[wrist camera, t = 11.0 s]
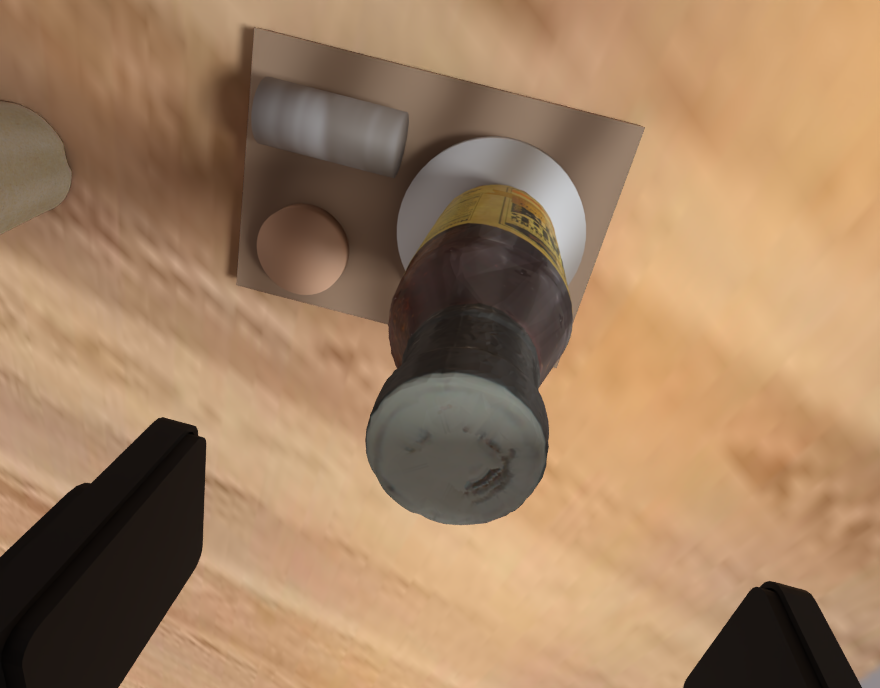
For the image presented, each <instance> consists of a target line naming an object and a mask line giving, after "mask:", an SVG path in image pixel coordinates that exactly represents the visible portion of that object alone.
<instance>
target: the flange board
mask: <svg viewBox="0 0 880 688" xmlns="http://www.w3.org/2000/svg"><path fill="white" fill-rule="evenodd" d="M644 129H645V127H643V126H640V125H636V124H632V123H628V122H625V121H621V120H617V119H613V118H609V117H605V116H601V115H597V114H593V113H589V112H585V111H582V110H578V109H574V108H570V107H566V106H562V105H558V104H554V103H550V102H546V101H543V100H539V99H535V98H531V97H527V96H523V95H519V94H515V93H511V92H507V91H504V90H500V89H496V88H492V87H488V86H484V85H480V84H476V83H472V82H468V81H465V80H461V79H457V78H453V77H449V76H445V75H441V74H437V73H433V72H429V71H426V70H422V69H418V68H414V67H410V66H406V65H402V64H398V63H394V62H390V61H386V60H383V59H379V58H375V57H371V56H367V55H363V54H359V53H355V52H351V51H347V50H344V49H340V48H336V47H332V46H328V45H324V44H320V43H316V42H312V41H308V40H305V39H301V38H297V37H293V36H289V35H285V34H281V33H277V32H273V31H269V30H266V29H261V28H255V27H254V39H253V53H252V68H251V82H250V96H249V111H248V125H247V139H246V154H245V168H244V182H243V197H242V211H241V226H240V240H239V254H238V269H237V283H236V285H238V286H242V287H246V288H250V289H253V290H257V291H261V292H265V293H269V294H273V295H277V296H280V297H284V298H288V299H292V300H296V301H300V302H303V303H307V304H311V305H315V306H319V307H323V308H327V309H330V310H334V311H338V312H342V313H346V314H350V315H354V316H357V317H361V318H365V319H369V320H373V321H377V322H381V323H384V324H388V322H389V311H390V308H391V303H392V298H393V296H394V294H395V292H396V289H397V287H398V285H399V283H400V281H401V279H402V277H403V276H404V274H405V271H406V269H407V267H408V265H409V263H410V261H411V259H412V258H413V256H414V255H415V253H416V252H417V250H418V249H419V247H420V245H421V244H422V242H423V241H424V239H425V238H426V236H427V235H428V233H429V232H430V230H431V229H432V227H433V226H434V224H435V223H436V221H437V220H438V218H439V217H440V215H441V214H442V213H443V211H444V210H445V209H446V207H447V206H448V205H449V204H450V203H451V201H452V200H453V199H454V198H456V197H457V196H459V195H461V194H462V193H464V192H466V191H468V190H470V189H473V188H475V187H478V186H482V185H506V186H511V187H514V188H516V189H519V190H523V191H525V192H527V193H528V194H529V195H530V196H531V197H533V198H534V199H535V200H537V201H538V202H539V203H540V204H541V205H542V206H543V208H544V209H545V211H546V212H547V214H548V215H549V217H550V219H551V221H552V224H553V227H554V230H555V235H556V239H557V243H558V247H559V250H560V255H561V259H562V261H563V267H564V271H565V276H566V281H567V284H568V289H569V293H570V298H571V302H572V309H573V322H574V319H575V316H576V313H577V311H578V308H579V305H580V303H581V300H582V297H583V294H584V292H585V289H586V286H587V284H588V281H589V278H590V275H591V273H592V270H593V267H594V265H595V262H596V259H597V256H598V254H599V251H600V248H601V246H602V243H603V240H604V237H605V235H606V232H607V229H608V227H609V224H610V221H611V218H612V216H613V213H614V210H615V208H616V205H617V202H618V199H619V197H620V194H621V191H622V189H623V186H624V183H625V180H626V178H627V175H628V172H629V170H630V167H631V164H632V161H633V159H634V156H635V153H636V151H637V148H638V145H639V142H640V140H641V137H642V134H643V132H644ZM560 357H561V356H560ZM559 360H560V358H559V359H558V361H557V362H556V363H555V365H554V366H553V367H554V368H557V365H558V362H559Z"/></svg>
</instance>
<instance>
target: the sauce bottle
mask: <svg viewBox="0 0 880 688" xmlns="http://www.w3.org/2000/svg"><path fill="white" fill-rule="evenodd" d="M572 324H573V309H572V302H571V298H570V293H569V289H568V284H567V281H566V276H565V271H564V267H563V261H562V259H561V255H560V250H559V247H558V243H557V239H556V235H555V230H554V227H553V224H552V221H551V219H550V217H549V215H548V214H547V212H546V211H545V209H544V208H543V206H542V205H541V204H540V203H539V202H538V201H537V200H535V199H534V198H533V197H531V196H530V195H529V194H528V193H527V192H525V191H523V190H519V189H516V188H514V187H511V186H506V185H482V186H478V187H475V188H473V189H470V190H468V191H466V192H464V193H462V194H461V195H459V196H457V197H456V198H454V199H453V200H452V201H451V203H450V204H449V205H448V206H447V207H446V209H445V210H444V211H443V213H442V214H441V215H440V217H439V218H438V220H437V221H436V223H435V224H434V226H433V227H432V229H431V230H430V232H429V233H428V235H427V236H426V238H425V239H424V241H423V242H422V244H421V245H420V247H419V249H418V250H417V252H416V253H415V255H414V256H413V258H412V259H411V261H410V263H409V265H408V267H407V269H406V271H405V274H404V276H403V277H402V279H401V281H400V283H399V285H398V287H397V289H396V292H395V294H394V296H393V298H392V303H391V308H390V311H389V322H388V326H389V340H390V346H391V354H392V356H393V358H394V362H395V365H396V367H397V369H396V370H395V371H394V372H393V374H392V375H391V376H390V377H389V378H388V379H387V381H386V382H385V383H384V385H383V387H382V389H381V391H380V393H379V395H378V397H377V399H376V402H375V404H374V407H373V410H372V412H371V414H370V419H369V422H368V426H367V429H366V454H367V458H368V461H369V464H370V466H371V468H372V470H373V472H374V473H375V475H376V477H377V479H378V480H379V482H380V484H381V486H382V488H383V489H384V490H385V492H386V493H387V494H388V495H389V496H390V497H391V498H392V499H393V500H395V501H396V502H397V503H398V504H399V505H401V506H402V507H404V508H405V509H407V510H409V511H410V512H413V513H417V514H420V515H422V516H424V517H426V518H428V519H430V520H433V521H436V522H439V523H443V524H452V525H470V524H482V523H487V522H490V521H492V520H495V519H498V518H501V517H503V516H506V515H507V514H509V513H510V512H513V511H515V510H516V509H517V508H519V507H520V506H521V505H522V504H523V503H524V501H525V500H526V499H527V498H528V497H529V496H530V495H531V494H532V492H533V491H534V489H535V488H536V486H537V485H538V483H539V482H540V480H541V479H542V478H543V474H544V471H545V468H546V460H547V453H548V447H549V446H548V439H549V424H548V418H547V413H546V409H545V405H544V402H543V400H542V397H541V395H540V393H539V391H538V388H539V387H540V385H541V384H542V382H543V381H544V379H545V378H546V376H547V375H548V374H549V372H550V371H551V369H552V368H553V366H554V365H555V363H556V362H557V361H558V359H559V358H560V356H561V355H562V354H563V352H564V350H565V348H566V346H567V344H568V342H569V339H570V336H571V332H572Z"/></svg>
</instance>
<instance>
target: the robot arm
mask: <svg viewBox="0 0 880 688" xmlns="http://www.w3.org/2000/svg"><path fill="white" fill-rule="evenodd" d="M205 464H206V440H205V438H203V437H200V436H198V430H197V428H196V426H193V425H190V424H186V423H182V422H178V421H175V420H171V419H167V418H164V417H162V418H158V419H157V420H156V421H154V422H153V423H152V424H151V425H150V426H149V427H148V428H147V429H146V430H145V431H144V432H143V433H142V434H141V435H140V436H139V437H138V438H137V439H136V440H135V441H134V442H133V443H132V444H131V445H130V446H129V447H128V448H127V449H126V450H125V451H124V452H123V453H122V454H121V455H120V456H119V457H118V458H117V459H115V460H114V461H113V462H112V463H111V464H110V465H109V466H108V467H107V468H106V469H105V470H104V471H103V472H102V473H101V474H100V475H99V476H98V477H97V478H96V479H95V480H94V481H93V482H92V483H83V484H81V485H78V486H76V487H75V488H74V489H72V490H71V491H70V492H68V493H67V494H66V495H65V496H64V497H63V498H62V499H61V500H60V501H59V502H58V503H57V504H56V505H55V506H53V507H52V508H51V509H50V510H49V511H48V512H47V513H46V514H45V515H44V516H43V517H42V518H41V519H40V520H39V521H38V522H37V523H36V524H35V525H34V526H32V527H31V528H30V529H29V530H28V531H27V532H26V533H25V534H24V535H23V536H22V537H21V538H20V539H19V540H18V541H17V542H16V543H15V544H14V545H13V546H11V547H10V548H9V549H8V550H7V551H6V552H5V553H4V554H3V555H2V556H1V557H0V688H118V687H119V686H120V684H121V683H122V681H123V680H124V678H125V676H126V675H127V673H128V672H129V670H130V669H131V667H132V666H133V664H134V663H135V661H136V659H137V658H138V656H139V655H140V653H141V652H142V650H143V649H144V647H145V646H146V644H147V642H148V641H149V639H150V638H151V636H152V635H153V633H154V632H155V630H156V628H157V627H158V625H159V624H160V622H161V621H162V619H163V618H164V616H165V615H166V613H167V611H168V610H169V608H170V607H171V605H172V604H173V602H174V601H175V599H176V598H177V596H178V594H179V593H180V591H181V590H182V588H183V587H184V585H185V584H186V582H187V580H188V579H189V577H190V576H191V574H192V573H193V571H194V569H195V568H196V566H197V564H198V562H199V559H200V556H201V552H202V547H203V519H204V492H205ZM683 688H862V687H861V685H860V683H859V681H858V679H857V677H856V676H855V674H854V672H853V670H852V668H851V666H850V664H849V662H848V661H847V659H846V657H845V655H844V653H843V651H842V649H841V647H840V646H839V644H838V642H837V640H836V638H835V636H834V634H833V632H832V631H831V629H830V627H829V625H828V623H827V621H826V619H825V617H824V616H823V614H822V612H821V610H820V608H819V606H818V604H817V602H816V601H815V599H814V598H813V596H812V595H811V594H810V593H809V592H807V591H806V590H802V589H798V588H795V587H791V586H787V585H784V584H780V583H776V582H772V581H768V582H765V583H763V584H762V585H761V586H760V587H754V588H752V589H751V590H750V591H749V593H748V594H747V596H746V597H745V598H744V600H743V601H742V603H741V604H740V605H739V607H738V608H737V609H736V611H735V612H734V614H733V615H732V616H731V618H730V619H729V621H728V622H727V623H726V625H725V626H724V628H723V629H722V630H721V632H720V633H719V634H718V636H717V637H716V639H715V640H714V641H713V643H712V644H711V646H710V647H709V648H708V650H707V651H706V652H705V654H704V655H703V657H702V658H701V659H700V661H699V662H698V664H697V665H696V666H695V668H694V669H693V671H692V672H691V673H690V675H689V676H688V677H687V679H686V681H685V683H684V687H683Z"/></svg>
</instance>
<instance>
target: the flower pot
mask: <svg viewBox="0 0 880 688" xmlns="http://www.w3.org/2000/svg"><path fill="white" fill-rule="evenodd" d="M71 178H72V172H71V169H70V168H69V165H68V162H67V159H66V155H65V150H64V144H63V142H62V141H61V139H60V138H59V136H58V135H57V133H56V132H55V131H54V129H53V128H52V127H51V126H50V125H49V124H48V123H47V122H46V121H45V120H44V119H43V118H42V117H40V116H39V115H37V114H36V113H35V112H33V111H31V110H30V109H28V108H26V107H24V106H21V105H19V104H15V103H10V102H4V101H0V235H1V234H3V233H5V232H7V231H9V230H11V229H13V228H14V227H16V226H18V225H20V224H22V223H24V222H26V221H28V220H30V219H32V218H34V217H36V216H38V215H40V214H42V213H44V212H47V211H49V210H51V209H53V208H55V207H56V206H58V205H59V204H60V203H61V202H62V201H63V200H64V199H65V197H66V195H67V194H68V191H69V188H70V185H71Z"/></svg>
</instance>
